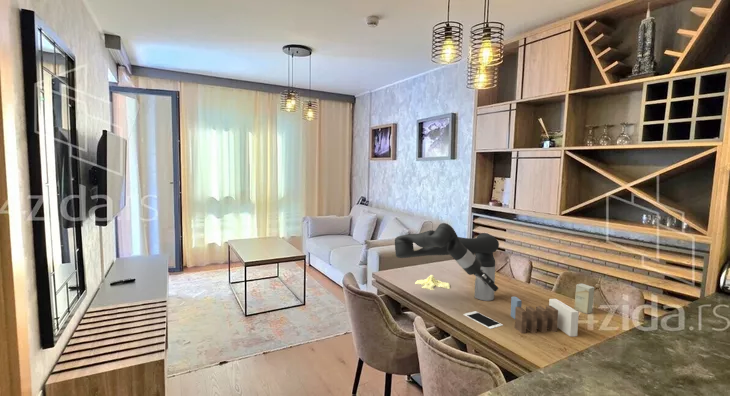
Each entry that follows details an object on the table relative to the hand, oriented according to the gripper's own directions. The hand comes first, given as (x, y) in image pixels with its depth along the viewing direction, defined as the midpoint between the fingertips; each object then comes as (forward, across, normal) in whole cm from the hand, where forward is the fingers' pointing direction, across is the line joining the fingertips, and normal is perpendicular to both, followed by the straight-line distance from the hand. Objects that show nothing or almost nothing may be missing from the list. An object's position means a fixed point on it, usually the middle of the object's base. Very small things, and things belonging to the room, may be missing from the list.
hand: (492, 286), depth 153 cm
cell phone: (+8, 0, -14) cm, 16 cm away
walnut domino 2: (+19, +11, -2) cm, 22 cm away
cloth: (+3, -48, -20) cm, 53 cm away
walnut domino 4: (+25, +11, +4) cm, 28 cm away
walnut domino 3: (+22, +11, +1) cm, 25 cm away
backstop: (+29, +11, +8) cm, 32 cm away
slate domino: (+19, 0, -2) cm, 19 cm away
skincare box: (+44, -5, +23) cm, 50 cm away
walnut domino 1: (+16, +11, -5) cm, 20 cm away
